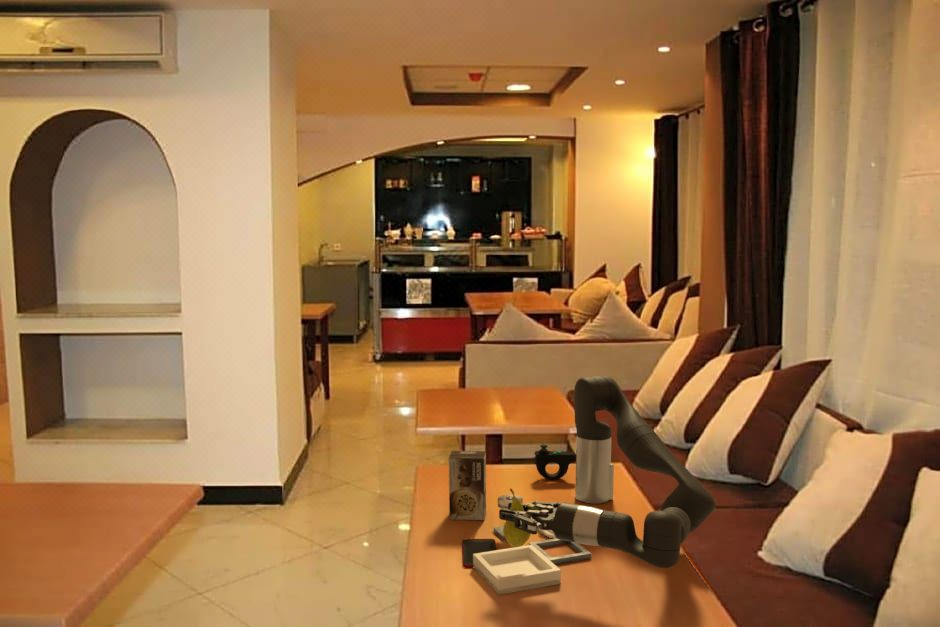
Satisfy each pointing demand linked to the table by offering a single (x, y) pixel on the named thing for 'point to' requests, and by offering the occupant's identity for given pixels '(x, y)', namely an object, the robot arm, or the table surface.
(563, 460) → the controller
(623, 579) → the table surface
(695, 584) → the table surface
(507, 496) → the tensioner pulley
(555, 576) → the tray
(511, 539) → the fruit
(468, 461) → the coffee box
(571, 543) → the grey square frame
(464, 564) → the cell phone
